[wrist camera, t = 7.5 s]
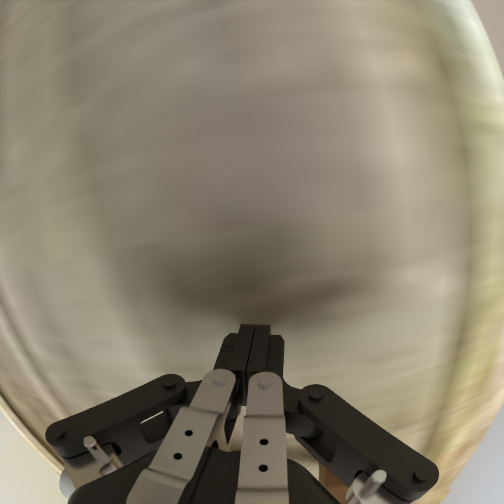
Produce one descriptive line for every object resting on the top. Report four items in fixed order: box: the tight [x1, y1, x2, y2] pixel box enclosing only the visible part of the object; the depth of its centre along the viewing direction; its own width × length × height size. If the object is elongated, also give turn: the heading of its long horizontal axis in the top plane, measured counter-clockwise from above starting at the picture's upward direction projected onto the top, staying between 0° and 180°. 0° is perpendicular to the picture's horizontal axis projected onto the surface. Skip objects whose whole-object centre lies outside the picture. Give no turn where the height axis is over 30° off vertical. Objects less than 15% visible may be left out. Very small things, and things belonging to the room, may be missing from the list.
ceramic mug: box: [60, 468, 76, 499], centre depth 27 cm, size 11×8×8 cm
